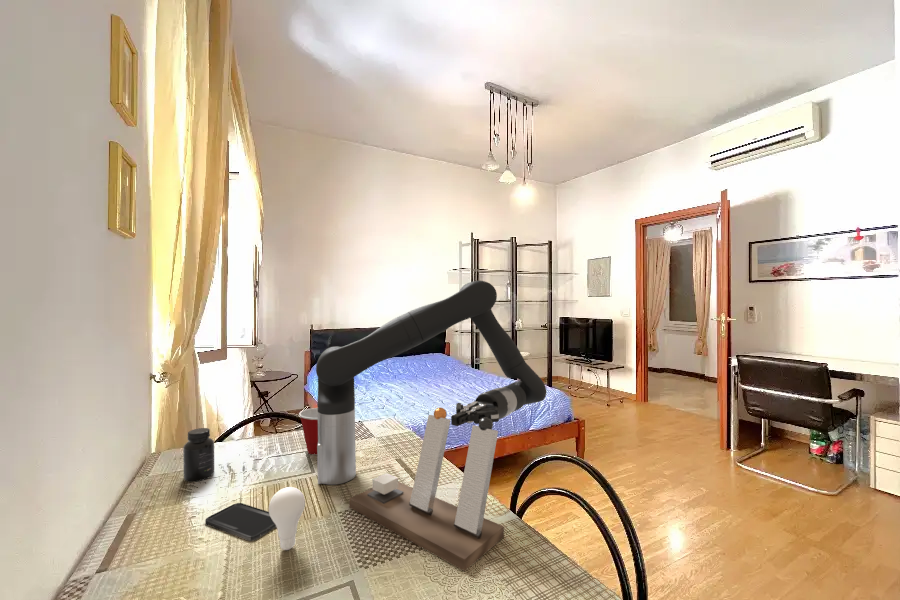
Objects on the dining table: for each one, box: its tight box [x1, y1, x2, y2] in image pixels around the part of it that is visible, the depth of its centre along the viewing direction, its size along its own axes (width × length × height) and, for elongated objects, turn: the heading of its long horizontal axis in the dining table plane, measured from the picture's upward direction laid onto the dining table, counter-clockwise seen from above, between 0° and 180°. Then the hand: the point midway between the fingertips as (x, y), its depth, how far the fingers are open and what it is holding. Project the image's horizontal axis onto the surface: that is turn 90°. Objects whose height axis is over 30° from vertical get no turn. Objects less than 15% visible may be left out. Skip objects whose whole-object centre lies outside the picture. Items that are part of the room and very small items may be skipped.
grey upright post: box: [454, 417, 499, 538], centre depth 74 cm, size 3×6×21 cm, turn 50°
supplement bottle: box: [182, 427, 215, 483], centre depth 101 cm, size 7×7×12 cm
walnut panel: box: [348, 481, 505, 572], centre depth 79 cm, size 12×32×2 cm, turn 50°
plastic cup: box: [298, 407, 318, 455], centre depth 118 cm, size 11×11×12 cm
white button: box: [371, 472, 399, 495], centre depth 86 cm, size 4×4×3 cm
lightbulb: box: [268, 486, 306, 551], centre depth 71 cm, size 6×6×11 cm
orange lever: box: [409, 407, 451, 515], centre depth 82 cm, size 3×6×21 cm, turn 49°
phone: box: [204, 502, 277, 542], centre depth 80 cm, size 8×1×15 cm
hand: (453, 421), depth 87 cm, fingers closed
